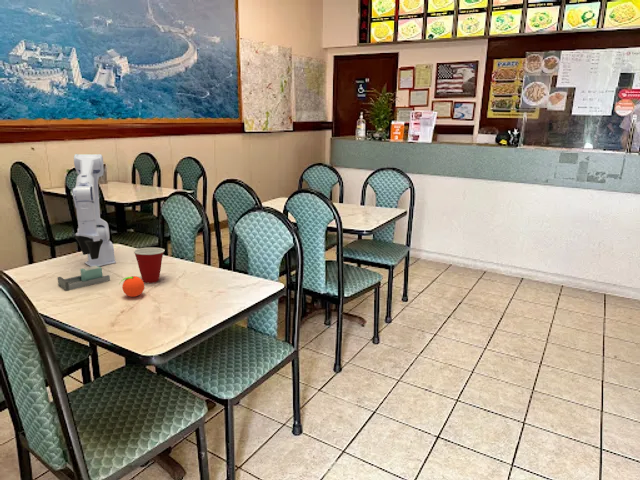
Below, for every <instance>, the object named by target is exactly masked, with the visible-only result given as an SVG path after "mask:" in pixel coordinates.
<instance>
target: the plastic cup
mask: <svg viewBox="0 0 640 480" xmlns="http://www.w3.org/2000/svg"><path fill="white" fill-rule="evenodd" d="M165 250H166V249H165V248H161V247H142V248H136V249H134V250H133V251H132V252H133V254H134V255H135V257H136V258H135V259H136V261H137V266H138V269H139V273H140V277H141V279H142V280H143V282H144V284H153V283H156V282H159V281H160V276H161V270H162V261H163V255H164V253H165Z"/></svg>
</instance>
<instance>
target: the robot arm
mask: <svg viewBox="0 0 640 480" xmlns="http://www.w3.org/2000/svg"><path fill="white" fill-rule="evenodd" d="M73 165H74V169H75V171H76V173H77V177H76V181H75V186H74V187H73V188H72V198H73V199H72V200H73V202H74V207H75V209H76V219H77V225H78V226H77V229H76V230H77V232H76V233H75V236H74V239H75V240H76V241H77V243H78V245H79V247H80V250H81V252H82V255H84V256H86V255H87V261H84V264H86V265H87V266H88V267H92V266H99V267H101V266H107V265H112V264H115V263H117V262H116V259H115V248H114V245H113V242H112V241H111V240H110V228H109V223H108V222H107V221H106V220H104V219H103V218H101V211H100V207H101V206H100V195H99V179H100V178H101V177H102V176H104V173H105V171H104V170H105V169H104V157H103V155H102V154H101V153H99V154H93V153H91V154H89V153H88V154H79V153H75V154H74V155H73Z"/></svg>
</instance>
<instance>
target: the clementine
mask: <svg viewBox="0 0 640 480" xmlns="http://www.w3.org/2000/svg"><path fill="white" fill-rule="evenodd" d="M121 282H123V283H122V285H121V287H122V290H123V293H124V294H125V295H126V296H128V297H132V298H135V297H138V296H140V295H141V294H142V293H143V292H144V290H145V282H143V280H142V277H141V278H140V277H138V276H127V277H124V278H123V279H121V281H120V282H119V283H118V285H120V283H121Z"/></svg>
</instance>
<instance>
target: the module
mask: <svg viewBox="0 0 640 480" xmlns="http://www.w3.org/2000/svg"><path fill="white" fill-rule="evenodd" d="M79 271H80V275H81V280H82V281H85V280H90V279H94V278H98V277H103V276H104V275H103V268H102V267H101V266H92V267H91V266H86V267H84V268H80V270H79Z"/></svg>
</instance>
